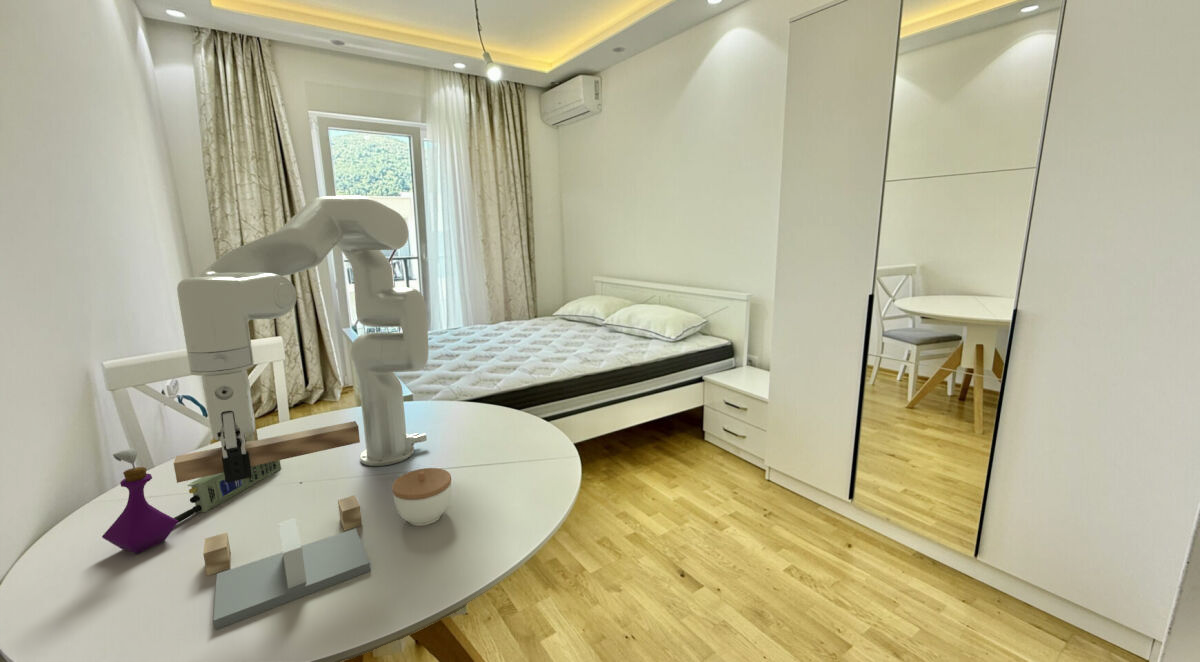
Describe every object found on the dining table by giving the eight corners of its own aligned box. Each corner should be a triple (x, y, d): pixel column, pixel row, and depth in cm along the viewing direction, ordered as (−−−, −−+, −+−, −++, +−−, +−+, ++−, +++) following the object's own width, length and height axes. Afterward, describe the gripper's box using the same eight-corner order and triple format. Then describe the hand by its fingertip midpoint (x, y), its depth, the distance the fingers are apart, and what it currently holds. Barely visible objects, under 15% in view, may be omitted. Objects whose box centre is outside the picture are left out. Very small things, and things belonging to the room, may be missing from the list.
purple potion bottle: (181, 537, 88) (164, 445, 85) (131, 562, 81) (110, 463, 78) (155, 529, 90) (138, 440, 87) (104, 553, 83) (83, 457, 80)
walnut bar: (356, 437, 85) (355, 421, 84) (359, 442, 82) (358, 425, 82) (179, 475, 71) (176, 456, 71) (177, 482, 69) (173, 463, 68)
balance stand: (356, 535, 88) (352, 498, 86) (370, 570, 78) (366, 529, 77) (218, 582, 76) (210, 539, 74) (215, 629, 66) (206, 582, 65)
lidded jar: (398, 539, 86) (393, 492, 85) (393, 510, 96) (389, 467, 94) (458, 523, 91) (455, 477, 89) (448, 497, 101) (445, 455, 99)
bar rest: (356, 513, 95) (354, 495, 94) (362, 525, 91) (359, 506, 90) (208, 559, 81) (205, 538, 81) (207, 575, 77) (203, 553, 77)
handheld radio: (284, 469, 115) (179, 530, 90) (272, 469, 115) (164, 529, 91) (279, 443, 113) (172, 497, 89) (267, 443, 114) (157, 497, 90)
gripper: (252, 366, 67) (269, 488, 70) (252, 347, 80) (267, 451, 83) (182, 375, 62) (203, 504, 65) (194, 353, 75) (212, 462, 79)
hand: (239, 473), depth 74 cm, fingers closed on walnut bar, 3 cm apart
